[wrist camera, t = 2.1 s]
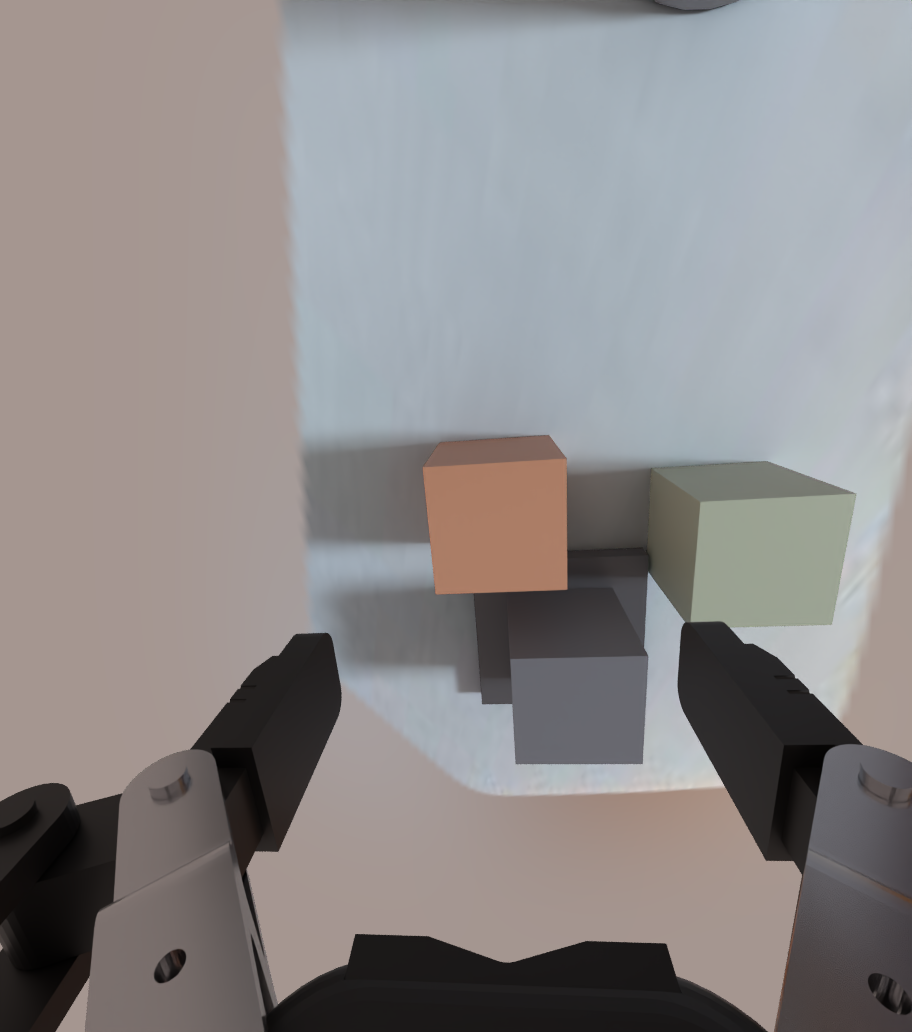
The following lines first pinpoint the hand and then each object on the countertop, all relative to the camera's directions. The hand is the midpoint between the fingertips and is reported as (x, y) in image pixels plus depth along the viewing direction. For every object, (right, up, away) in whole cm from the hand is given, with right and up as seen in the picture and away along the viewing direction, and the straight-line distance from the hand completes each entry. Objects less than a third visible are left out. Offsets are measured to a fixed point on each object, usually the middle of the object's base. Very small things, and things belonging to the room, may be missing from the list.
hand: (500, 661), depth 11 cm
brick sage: (+12, +3, +13) cm, 18 cm away
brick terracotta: (+1, +5, +14) cm, 15 cm away
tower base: (+5, -3, +16) cm, 17 cm away
